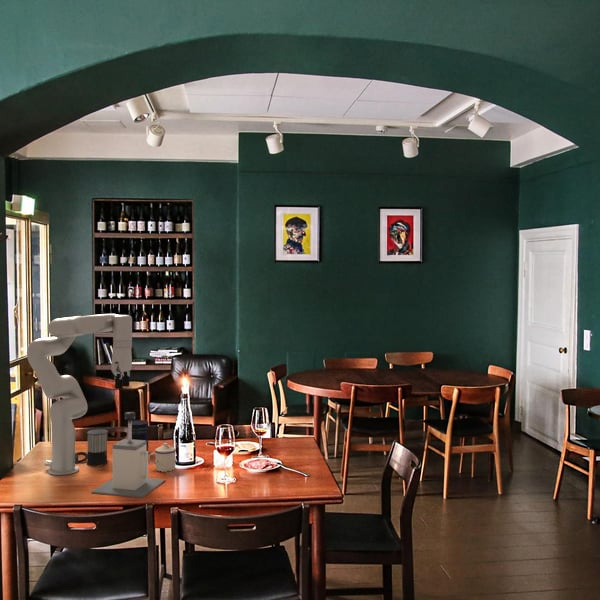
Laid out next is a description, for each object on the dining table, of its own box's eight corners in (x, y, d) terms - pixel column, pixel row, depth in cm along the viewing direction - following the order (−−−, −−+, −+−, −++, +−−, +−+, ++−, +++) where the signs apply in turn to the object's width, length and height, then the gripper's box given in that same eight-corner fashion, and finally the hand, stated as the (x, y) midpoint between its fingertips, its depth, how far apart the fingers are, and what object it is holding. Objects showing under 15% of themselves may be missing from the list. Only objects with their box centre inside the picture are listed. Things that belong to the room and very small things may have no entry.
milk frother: (108, 465, 297) (108, 433, 297) (71, 468, 292) (72, 435, 291) (105, 457, 311) (105, 426, 310) (70, 460, 305) (70, 428, 304)
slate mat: (91, 493, 260) (91, 491, 260) (117, 476, 281) (117, 475, 281) (142, 497, 255) (142, 496, 255) (165, 480, 277) (165, 479, 277)
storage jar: (141, 456, 313) (141, 425, 312) (123, 454, 316) (123, 423, 315) (152, 451, 322) (152, 421, 322) (134, 449, 325) (135, 419, 325)
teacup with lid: (177, 466, 298) (177, 441, 297) (173, 472, 288) (173, 446, 288) (151, 465, 298) (151, 440, 297) (146, 471, 289) (146, 445, 288)
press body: (112, 488, 264) (112, 444, 264) (123, 480, 274) (124, 438, 273) (141, 490, 262) (142, 447, 261) (152, 483, 272) (152, 440, 271)
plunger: (122, 458, 266) (123, 413, 265) (127, 456, 270) (127, 411, 269) (132, 459, 265) (132, 414, 265) (136, 456, 269) (136, 412, 269)
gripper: (123, 342, 283) (123, 383, 284) (104, 346, 267) (104, 390, 267) (139, 342, 282) (139, 384, 283) (121, 347, 265) (121, 391, 266)
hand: (122, 387), depth 275 cm, fingers open, 5 cm apart
